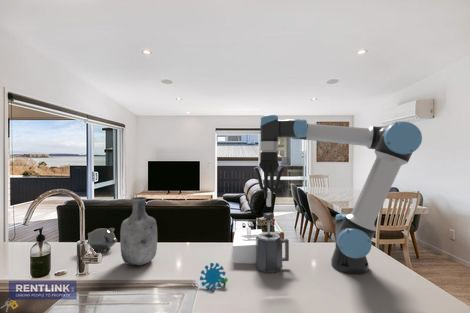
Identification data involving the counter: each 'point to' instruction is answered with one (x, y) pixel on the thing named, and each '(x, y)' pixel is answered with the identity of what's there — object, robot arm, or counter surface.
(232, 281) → the counter surface
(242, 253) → the tissue box
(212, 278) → the gear
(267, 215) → the plunger
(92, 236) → the piggy bank
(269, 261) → the carafe
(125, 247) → the vase
